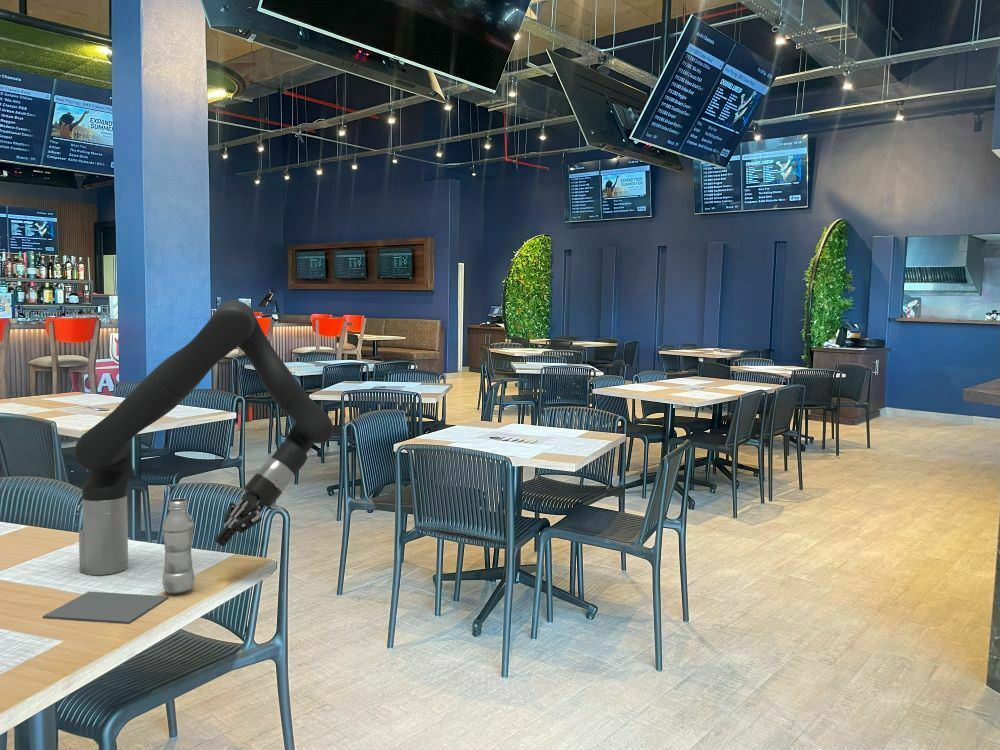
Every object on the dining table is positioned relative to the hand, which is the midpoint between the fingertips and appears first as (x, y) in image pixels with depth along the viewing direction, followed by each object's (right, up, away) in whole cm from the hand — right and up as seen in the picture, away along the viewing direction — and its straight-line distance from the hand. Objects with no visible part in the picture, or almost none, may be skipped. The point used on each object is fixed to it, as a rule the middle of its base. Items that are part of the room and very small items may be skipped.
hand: (218, 543), depth 172 cm
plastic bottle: (-7, -9, -5) cm, 13 cm away
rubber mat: (-17, -10, -15) cm, 25 cm away
